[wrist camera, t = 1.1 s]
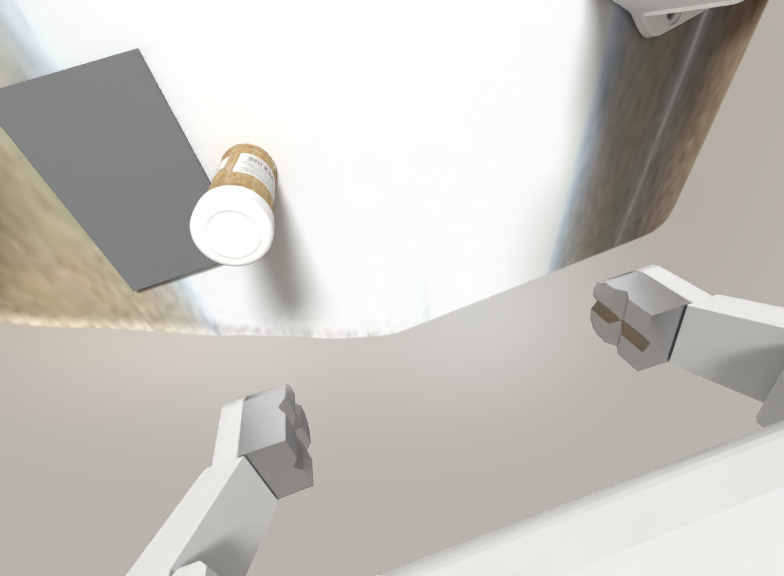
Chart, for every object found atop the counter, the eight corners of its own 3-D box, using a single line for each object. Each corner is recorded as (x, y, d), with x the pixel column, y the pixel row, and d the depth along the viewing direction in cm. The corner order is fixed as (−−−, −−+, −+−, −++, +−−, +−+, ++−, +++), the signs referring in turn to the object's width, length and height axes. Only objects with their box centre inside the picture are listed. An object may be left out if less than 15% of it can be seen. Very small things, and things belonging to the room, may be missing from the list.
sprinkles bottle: (209, 157, 31) (168, 217, 20) (258, 132, 31) (244, 180, 20) (242, 204, 34) (221, 281, 23) (287, 182, 34) (288, 248, 23)
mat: (138, 48, 27) (136, 48, 26) (247, 251, 36) (247, 253, 36) (-19, 94, 26) (-24, 95, 26) (135, 288, 36) (133, 291, 35)
